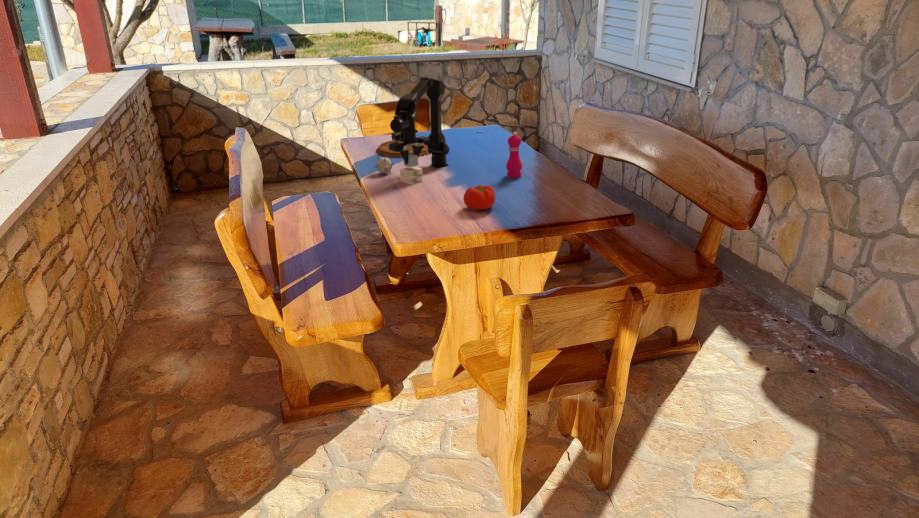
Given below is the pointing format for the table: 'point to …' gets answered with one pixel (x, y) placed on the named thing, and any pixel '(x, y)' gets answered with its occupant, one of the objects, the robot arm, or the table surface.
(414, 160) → the cube
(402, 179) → the slab lower
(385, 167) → the spiky ball
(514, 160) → the pepper mill
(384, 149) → the cutting board
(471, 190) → the tomato
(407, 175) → the slab upper
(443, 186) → the table surface
